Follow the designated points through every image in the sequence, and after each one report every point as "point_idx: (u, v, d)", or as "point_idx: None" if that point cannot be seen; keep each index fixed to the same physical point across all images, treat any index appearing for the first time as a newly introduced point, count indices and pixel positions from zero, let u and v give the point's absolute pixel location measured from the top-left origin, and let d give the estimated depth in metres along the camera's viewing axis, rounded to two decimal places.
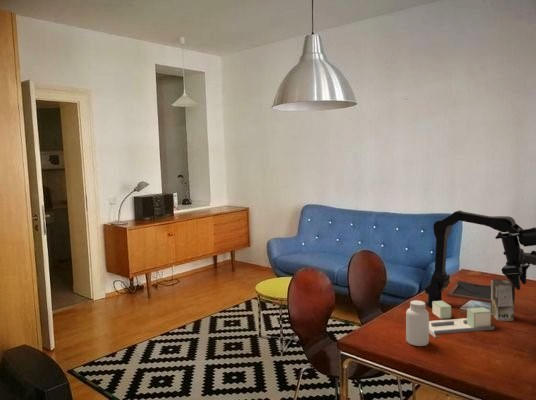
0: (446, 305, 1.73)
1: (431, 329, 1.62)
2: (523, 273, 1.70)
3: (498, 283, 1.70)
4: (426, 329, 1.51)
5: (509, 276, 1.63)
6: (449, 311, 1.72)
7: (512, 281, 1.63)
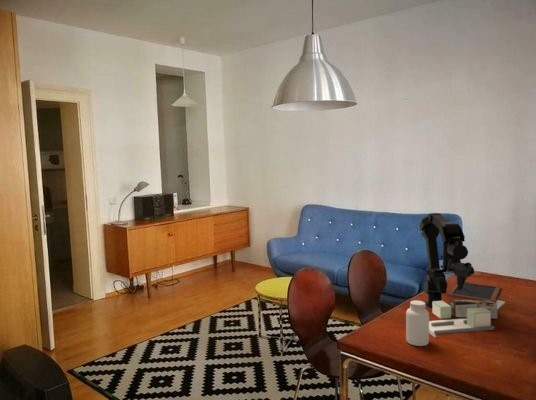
0: (446, 305, 1.73)
1: (431, 329, 1.62)
2: (460, 280, 1.73)
3: (454, 314, 1.75)
4: (426, 329, 1.51)
5: (433, 278, 1.72)
6: (449, 311, 1.72)
7: (435, 283, 1.72)
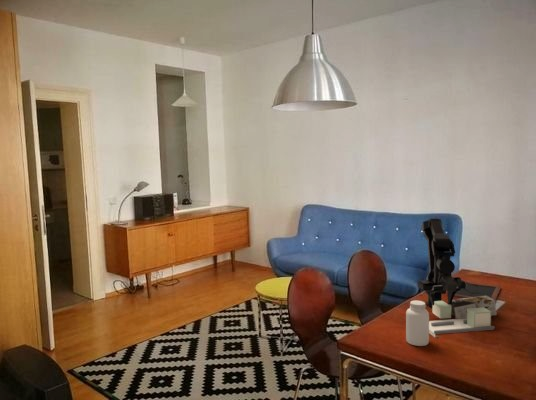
0: (446, 305, 1.73)
1: (431, 329, 1.62)
2: (450, 294, 1.75)
3: (454, 315, 1.74)
4: (426, 329, 1.51)
5: (427, 290, 1.76)
6: (449, 311, 1.72)
7: (428, 296, 1.76)
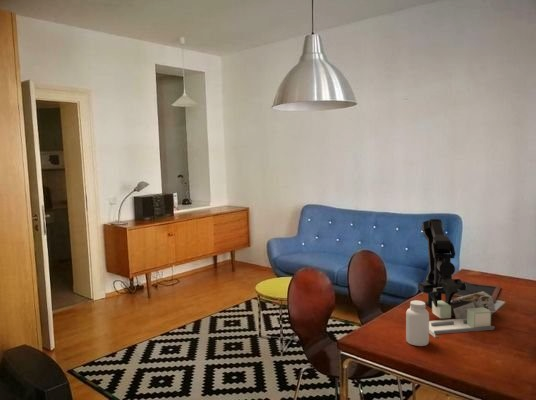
0: (446, 305, 1.73)
1: (431, 329, 1.62)
2: (448, 296, 1.75)
3: (454, 316, 1.74)
4: (426, 329, 1.51)
5: (430, 292, 1.76)
6: (449, 311, 1.72)
7: (431, 297, 1.76)
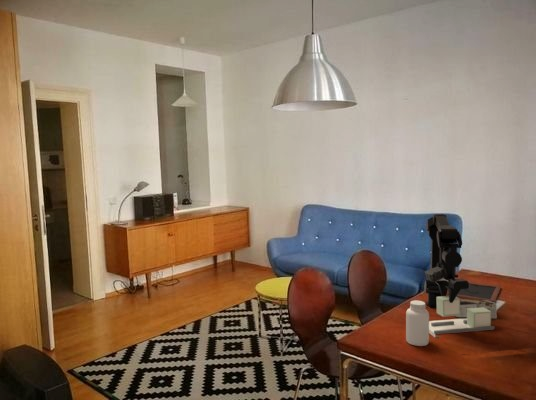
0: (444, 298, 1.61)
1: (431, 329, 1.62)
2: None
3: None
4: (426, 329, 1.51)
5: None
6: (441, 305, 1.60)
7: None
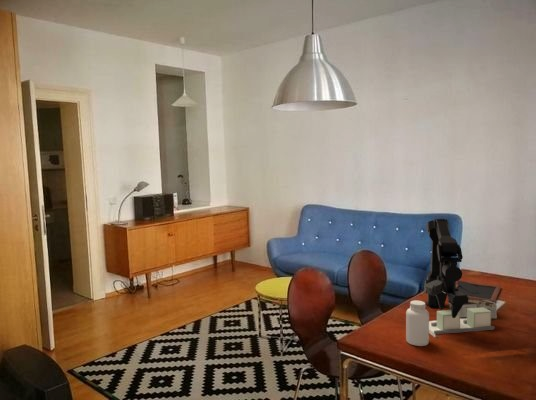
0: (444, 313, 1.61)
1: (431, 329, 1.62)
2: None
3: None
4: (426, 329, 1.51)
5: None
6: (441, 319, 1.60)
7: None
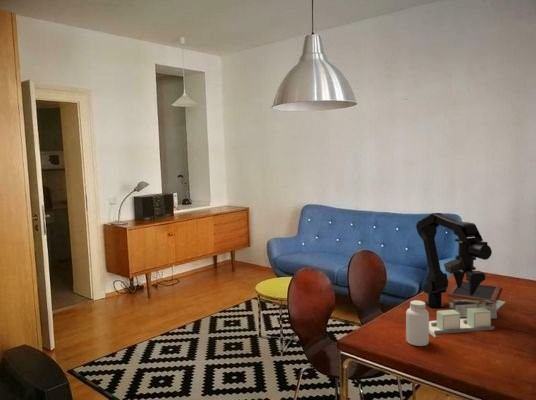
0: (444, 313, 1.61)
1: (431, 329, 1.62)
2: None
3: None
4: (426, 329, 1.51)
5: None
6: (441, 319, 1.60)
7: None
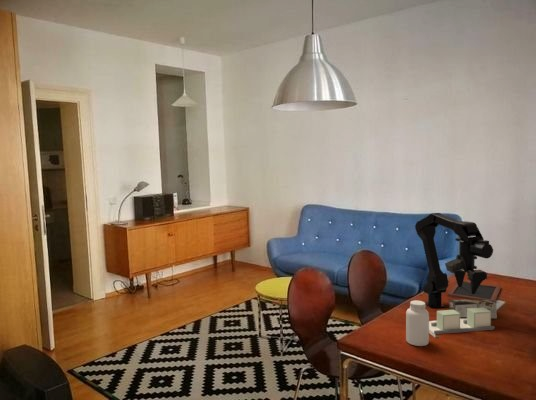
0: (444, 313, 1.61)
1: (431, 329, 1.62)
2: None
3: None
4: (426, 329, 1.51)
5: None
6: (441, 319, 1.60)
7: None
